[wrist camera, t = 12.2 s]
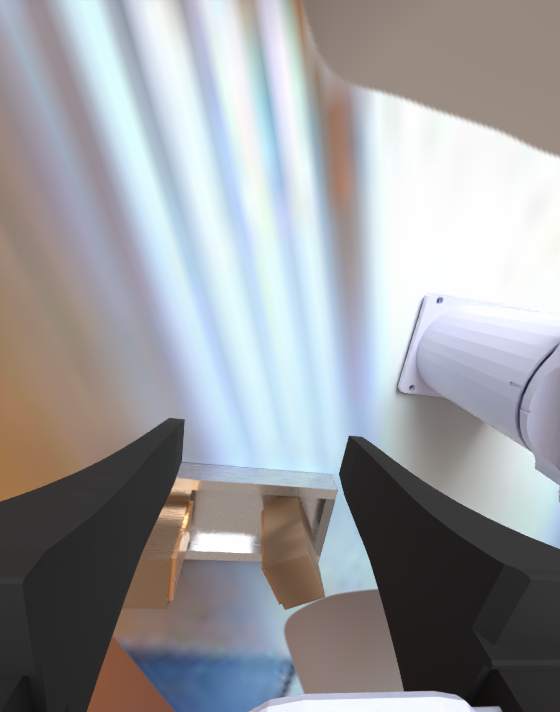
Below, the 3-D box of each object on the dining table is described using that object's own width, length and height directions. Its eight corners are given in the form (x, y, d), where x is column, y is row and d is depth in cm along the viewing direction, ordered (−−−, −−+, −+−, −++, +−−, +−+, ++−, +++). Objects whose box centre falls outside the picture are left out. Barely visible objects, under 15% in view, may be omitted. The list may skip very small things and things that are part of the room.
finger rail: (332, 474, 23) (358, 544, 17) (314, 544, 26) (331, 629, 19) (159, 460, 22) (119, 533, 15) (156, 537, 24) (120, 628, 18)
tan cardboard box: (296, 490, 22) (307, 554, 17) (310, 526, 24) (325, 597, 18) (260, 501, 22) (260, 569, 17) (276, 537, 24) (280, 611, 18)
